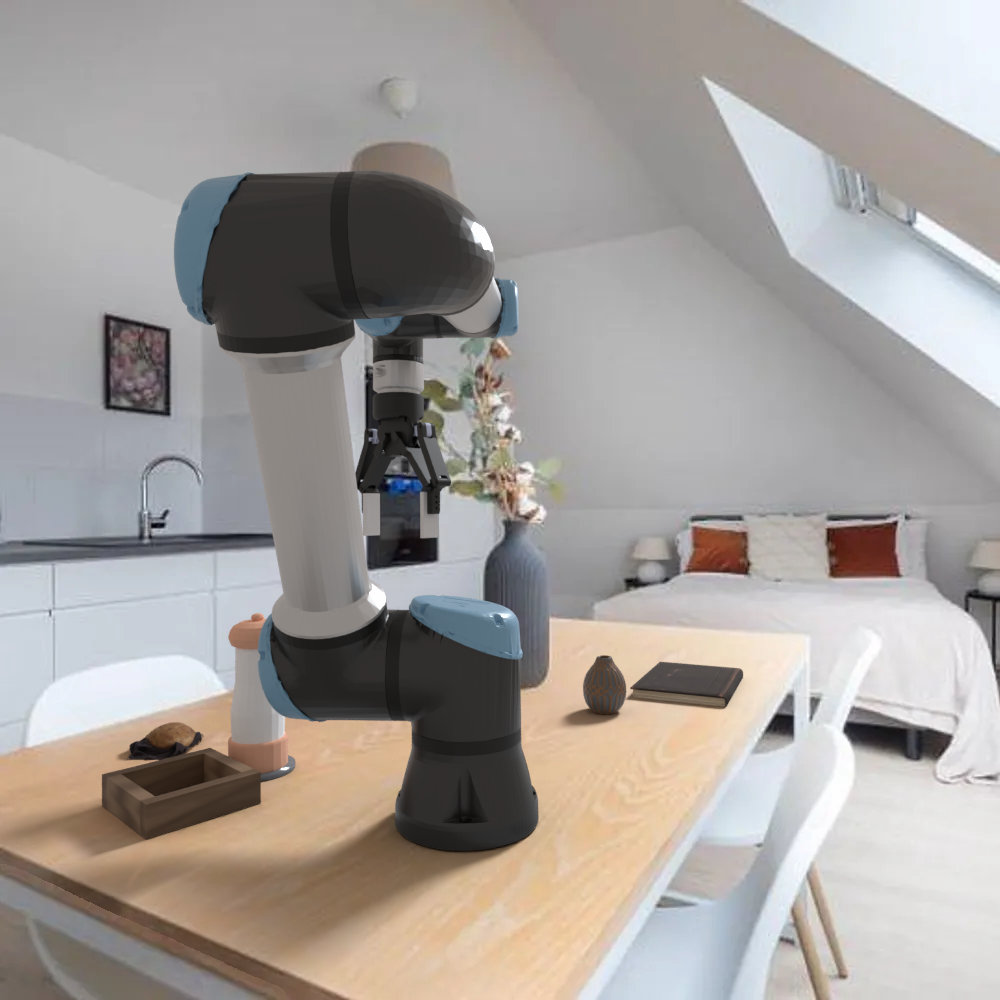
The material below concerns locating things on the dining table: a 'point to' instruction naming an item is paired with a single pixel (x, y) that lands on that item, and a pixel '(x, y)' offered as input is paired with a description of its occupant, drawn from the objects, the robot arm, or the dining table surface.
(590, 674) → the vase
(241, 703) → the pepper shaker
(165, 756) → the brown and black lump
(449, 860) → the dining table surface
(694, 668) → the hardcover book
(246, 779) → the walnut frame
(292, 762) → the slate coaster
